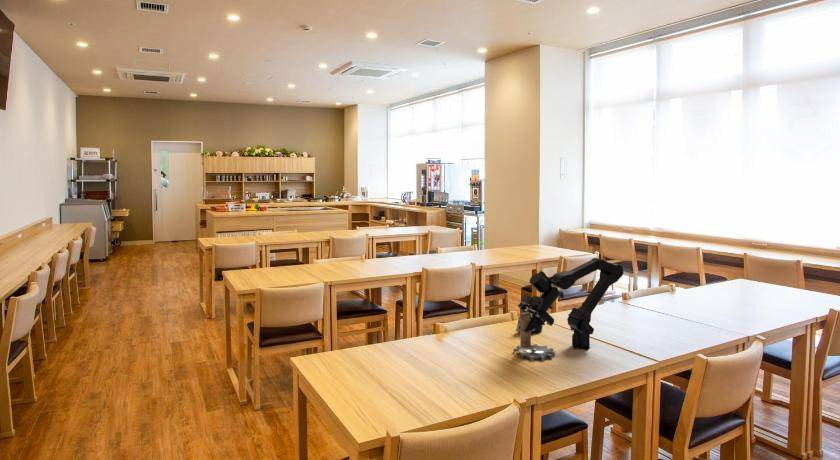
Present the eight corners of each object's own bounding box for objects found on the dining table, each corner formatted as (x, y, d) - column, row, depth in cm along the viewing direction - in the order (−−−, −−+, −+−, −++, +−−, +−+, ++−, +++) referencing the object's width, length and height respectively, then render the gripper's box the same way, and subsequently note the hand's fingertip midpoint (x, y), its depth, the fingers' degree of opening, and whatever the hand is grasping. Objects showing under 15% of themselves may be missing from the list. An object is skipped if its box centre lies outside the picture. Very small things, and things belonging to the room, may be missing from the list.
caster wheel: (540, 334, 245) (541, 337, 236) (515, 328, 248) (515, 331, 238) (543, 320, 245) (544, 323, 236) (518, 314, 248) (519, 316, 238)
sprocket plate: (555, 349, 217) (556, 344, 216) (553, 362, 201) (553, 357, 201) (516, 346, 221) (516, 341, 221) (511, 359, 206) (511, 354, 206)
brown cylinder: (529, 344, 212) (529, 312, 211) (532, 347, 208) (531, 314, 207) (519, 344, 212) (519, 312, 211) (521, 347, 208) (521, 315, 207)
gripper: (521, 282, 218) (498, 312, 215) (547, 291, 200) (522, 323, 198) (538, 299, 221) (515, 328, 219) (565, 309, 204) (540, 341, 201)
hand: (522, 330), depth 209 cm, fingers closed on brown cylinder, 4 cm apart
